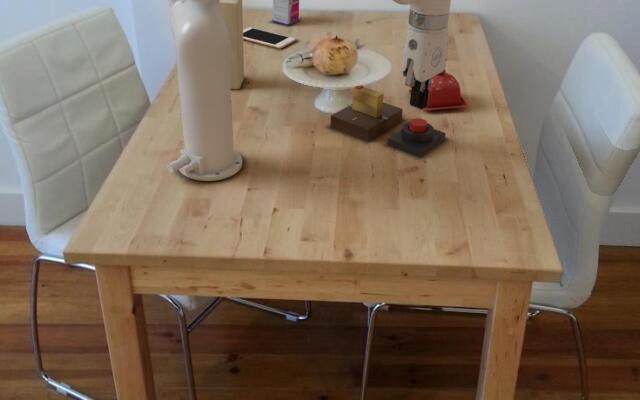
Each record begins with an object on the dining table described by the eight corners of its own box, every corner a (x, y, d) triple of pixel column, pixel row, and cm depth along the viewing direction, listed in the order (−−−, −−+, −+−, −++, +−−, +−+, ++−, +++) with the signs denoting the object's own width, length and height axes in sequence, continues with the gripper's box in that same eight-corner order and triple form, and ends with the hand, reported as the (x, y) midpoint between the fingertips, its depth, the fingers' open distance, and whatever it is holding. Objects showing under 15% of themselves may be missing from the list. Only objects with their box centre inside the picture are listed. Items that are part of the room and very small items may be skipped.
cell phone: (280, 49, 200) (280, 46, 200) (232, 36, 207) (232, 34, 207) (296, 40, 206) (296, 38, 205) (249, 28, 213) (249, 26, 212)
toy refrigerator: (245, 77, 184) (242, -7, 173) (240, 89, 178) (236, 3, 166) (214, 75, 184) (209, -9, 173) (207, 87, 178) (201, 1, 167)
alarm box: (419, 157, 152) (421, 142, 150) (387, 145, 156) (388, 130, 154) (444, 140, 158) (446, 125, 156) (413, 128, 162) (414, 114, 160)
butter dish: (421, 115, 168) (424, 80, 163) (406, 94, 178) (409, 60, 173) (469, 111, 170) (473, 77, 166) (451, 90, 180) (455, 57, 175)
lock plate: (369, 142, 157) (369, 129, 155) (329, 127, 162) (329, 114, 160) (402, 121, 165) (404, 108, 163) (363, 107, 171) (364, 95, 169)
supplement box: (288, 26, 216) (288, -13, 209) (272, 22, 218) (271, -17, 212) (299, 21, 220) (300, -18, 214) (283, 17, 222) (283, -22, 216)
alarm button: (420, 135, 153) (421, 127, 152) (405, 130, 155) (406, 122, 154) (429, 129, 156) (430, 121, 155) (415, 124, 157) (415, 116, 156)
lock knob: (382, 114, 161) (383, 92, 158) (376, 118, 160) (377, 95, 157) (358, 106, 164) (359, 84, 162) (352, 109, 163) (353, 87, 160)
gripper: (424, 33, 135) (414, 123, 145) (464, 14, 145) (452, 100, 155) (390, 23, 139) (382, 112, 149) (432, 6, 149) (422, 90, 159)
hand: (418, 105), depth 152 cm, fingers closed
